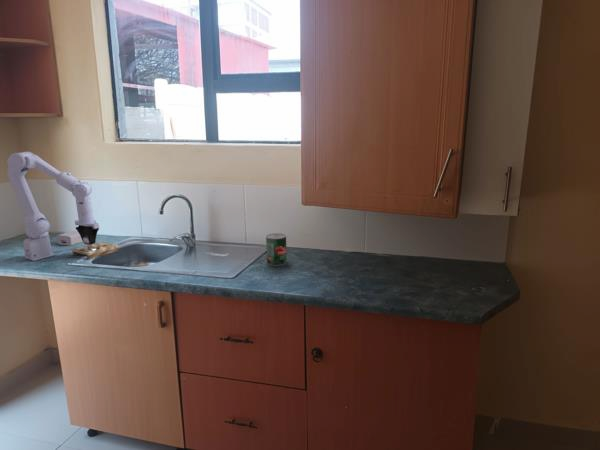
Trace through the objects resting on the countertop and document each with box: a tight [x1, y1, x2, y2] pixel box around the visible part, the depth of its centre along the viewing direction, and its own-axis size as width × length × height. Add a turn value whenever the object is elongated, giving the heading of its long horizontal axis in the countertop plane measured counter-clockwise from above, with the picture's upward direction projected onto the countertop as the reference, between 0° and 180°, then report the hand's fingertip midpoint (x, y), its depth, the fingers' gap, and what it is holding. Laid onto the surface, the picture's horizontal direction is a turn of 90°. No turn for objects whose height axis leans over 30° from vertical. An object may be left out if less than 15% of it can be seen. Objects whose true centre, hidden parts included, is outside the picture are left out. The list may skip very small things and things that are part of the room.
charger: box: [56, 230, 83, 247], centre depth 212 cm, size 5×9×15 cm
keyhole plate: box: [71, 241, 120, 260], centre depth 192 cm, size 14×12×2 cm
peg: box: [83, 236, 97, 252], centre depth 189 cm, size 5×5×6 cm
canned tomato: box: [265, 232, 288, 267], centre depth 173 cm, size 8×8×11 cm
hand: (89, 242), depth 189 cm, fingers closed on peg, 4 cm apart
